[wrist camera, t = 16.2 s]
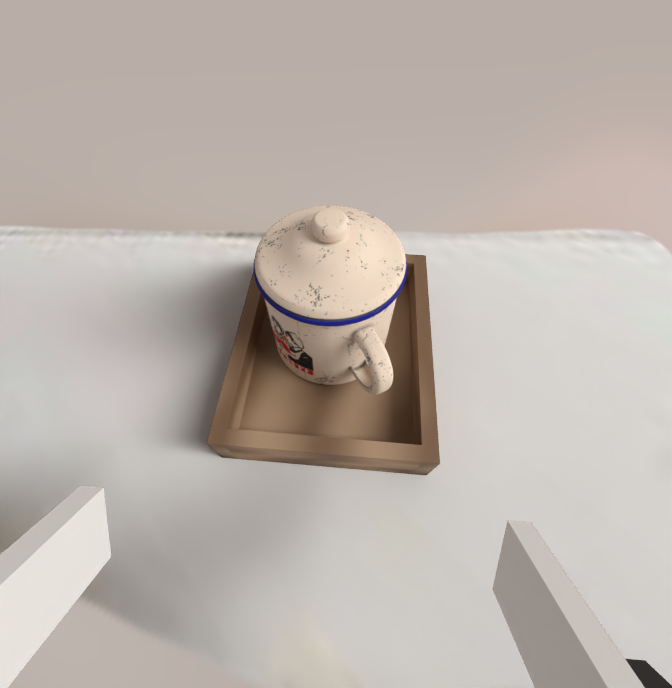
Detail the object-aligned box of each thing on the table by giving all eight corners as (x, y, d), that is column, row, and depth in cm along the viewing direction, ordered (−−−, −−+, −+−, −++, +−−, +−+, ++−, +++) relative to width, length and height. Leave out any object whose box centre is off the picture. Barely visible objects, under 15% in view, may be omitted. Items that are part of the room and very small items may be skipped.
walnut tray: (222, 457, 24) (206, 443, 21) (267, 272, 33) (260, 244, 30) (426, 475, 24) (439, 463, 21) (417, 283, 33) (425, 255, 30)
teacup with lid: (257, 315, 29) (219, 190, 19) (355, 280, 31) (366, 151, 21) (317, 446, 24) (306, 366, 14) (430, 392, 26) (492, 289, 16)
